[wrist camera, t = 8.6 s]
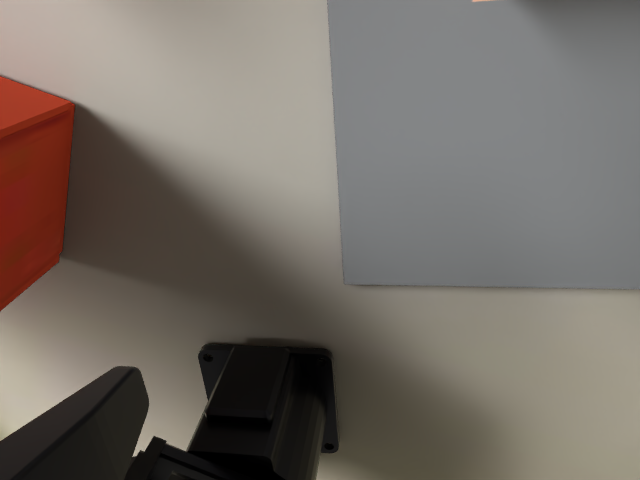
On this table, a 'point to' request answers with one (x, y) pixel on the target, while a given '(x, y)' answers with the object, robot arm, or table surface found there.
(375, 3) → the mat
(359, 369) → the table surface
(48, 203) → the file binder
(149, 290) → the table surface
